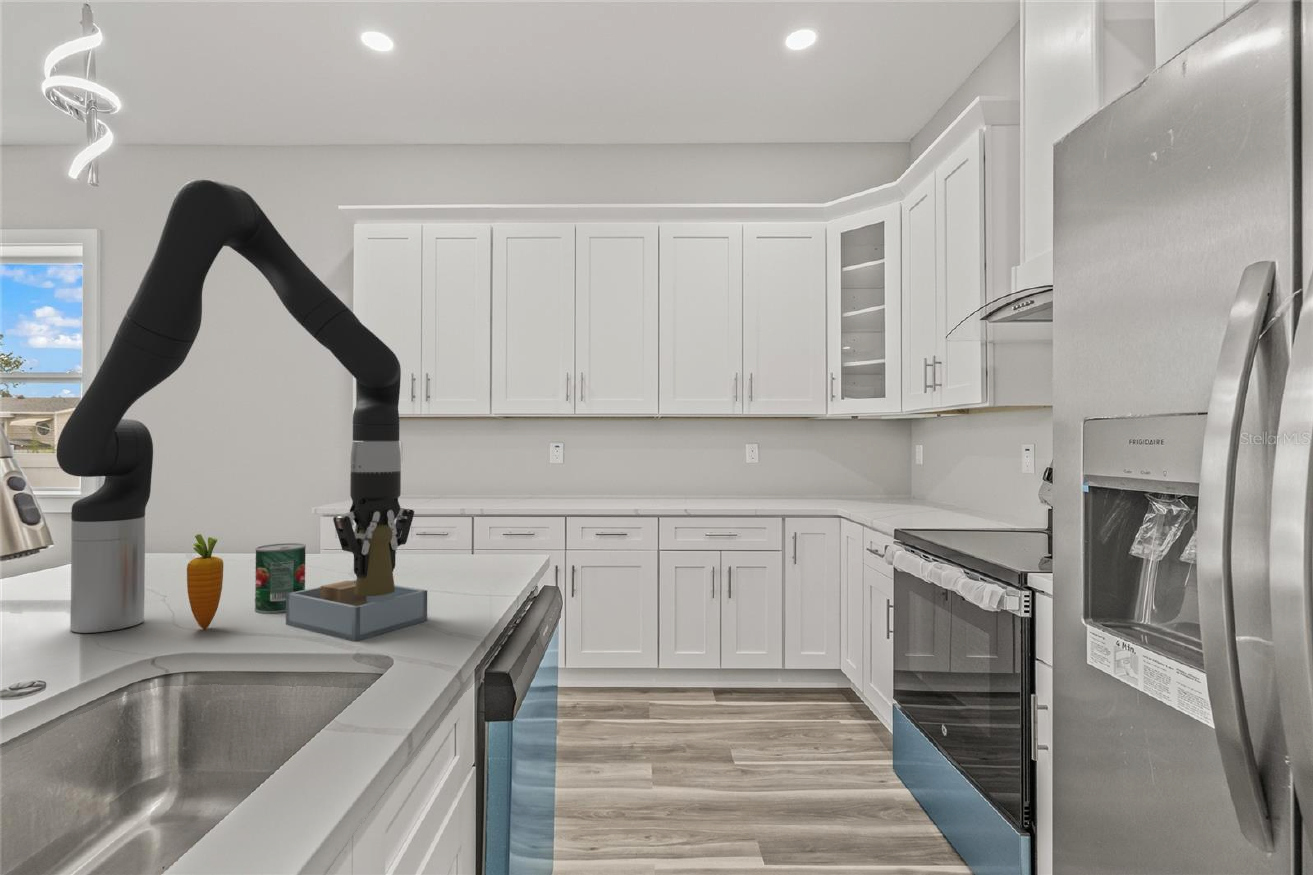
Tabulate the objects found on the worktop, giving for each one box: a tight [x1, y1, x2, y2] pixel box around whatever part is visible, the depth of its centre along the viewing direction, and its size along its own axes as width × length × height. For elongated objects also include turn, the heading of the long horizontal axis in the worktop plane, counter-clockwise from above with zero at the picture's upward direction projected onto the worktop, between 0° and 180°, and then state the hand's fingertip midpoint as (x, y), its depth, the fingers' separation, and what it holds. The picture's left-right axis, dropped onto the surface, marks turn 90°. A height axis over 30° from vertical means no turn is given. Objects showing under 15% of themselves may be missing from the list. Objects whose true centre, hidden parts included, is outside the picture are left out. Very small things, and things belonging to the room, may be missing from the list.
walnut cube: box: [320, 580, 366, 606], centre depth 113 cm, size 5×5×5 cm
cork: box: [355, 524, 395, 596], centre depth 109 cm, size 6×6×11 cm
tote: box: [285, 579, 428, 642], centre depth 111 cm, size 18×14×5 cm
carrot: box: [186, 533, 224, 630], centre depth 107 cm, size 5×5×15 cm
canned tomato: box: [254, 542, 307, 614], centre depth 120 cm, size 8×8×11 cm
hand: (375, 574), depth 109 cm, fingers closed on cork, 4 cm apart
